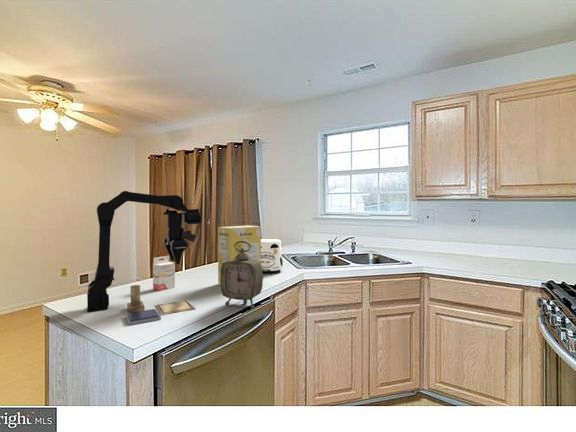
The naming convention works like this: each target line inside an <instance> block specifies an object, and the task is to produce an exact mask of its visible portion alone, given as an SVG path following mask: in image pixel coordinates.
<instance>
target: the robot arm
mask: <svg viewBox="0 0 576 432" xmlns="http://www.w3.org/2000/svg"><path fill="white" fill-rule="evenodd" d="M127 202H131V203H141V204H149V205H158V206H161V207H164V208H166V209H165V210H164V211H163V212H161V214H162V215H166V216H167V227H166V231H167V236H164V238H163V239H162V241H163V242H162V243H163V245H164V248H165V249H166V252H167V255H168V256H169V259H170V260H171V262H174V261H175V262H174V263H176V264H175V265H179V264H180V262H181V259H182V256H183V252H184V251H185V250H187V249H188V247H189V242H190V241H191V242H192V243H195V241H196V237H197V235H196V234H194V233H192V231H191V230H189V229H186V230H185V227H183V224H185V225H186V226H190V225H191V226H192V225H201V222H202V221H201V220H202V217H201V213H200V209H199V208H193V209H191V208H190V209H188V207H187V206H186V205H185V204H184V200H183V197H181V196H180V195H178V194H173V195H172V194H171V195H157V194H148V193H140V192H133V191H128V190H122V191H121V192H120V193H119V194H117V195H116V196H114V197H113V198H111V199H110V200H108V201H107V202H101V203H99V204H98V205H97V206H96V215H97V220H98V225H99V227H98V229H99V231H98V257H97V258H98V260H97V266H96V268H95V274H94V277H93V280H91V282H89V283H88V285H87V294H86V295H87V297H86V299H87V301H86V303H87V304H86V305H87V307H86V313H87V312H89V313H90V312H96V311H103V310H108V307H109V306H110V295H109V293H108V291H107V289H108V288H109V287H111V286H112V283H113V281H115V278H114V273H115V267H114V266H111V265H110V258H111V257H110V255H111V253H110V251H111V249H110V248H111V228H112V227H111V226H112V224H113V220H114V216H115V212H116V210H117V209H118V208H120V207H121V206H122V205H124V204H125V203H127ZM169 209H171V210H169ZM188 241H189V242H188Z"/></svg>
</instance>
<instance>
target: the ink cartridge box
mask: <svg viewBox="0 0 576 432" xmlns="http://www.w3.org/2000/svg"><path fill="white" fill-rule="evenodd" d="M175 263H176V262H174V261H170V256H169V255H163V256H157V257H153V264H152V289H153V290H155V291H158V292H160V291H165V290H168V289H173V288H175V287H176V283H175V282H176V264H175Z"/></svg>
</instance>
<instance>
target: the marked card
mask: <svg viewBox="0 0 576 432" xmlns="http://www.w3.org/2000/svg"><path fill="white" fill-rule="evenodd" d="M155 307H156V310H157V311H158V313H159V314H160V316H163V315H170V314H175V313H181V312H187V311H192V310H196V306H194V305H193V304H192V303H191V302H190V301H189V300H187V299H185V300H180V301H171V302H167V303H160V304H159V303H158V304H155Z"/></svg>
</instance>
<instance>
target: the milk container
mask: <svg viewBox="0 0 576 432" xmlns="http://www.w3.org/2000/svg"><path fill="white" fill-rule="evenodd" d="M283 262H284V261H283V258H282V241H281V240H280V239H275V238H272V239H271V238H270V239H269V238H263V239H262V238H261V265H262V271H263V273H276V272H280V271H281V270H282V269H283V266H284V265H283V264H284V263H283Z"/></svg>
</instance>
